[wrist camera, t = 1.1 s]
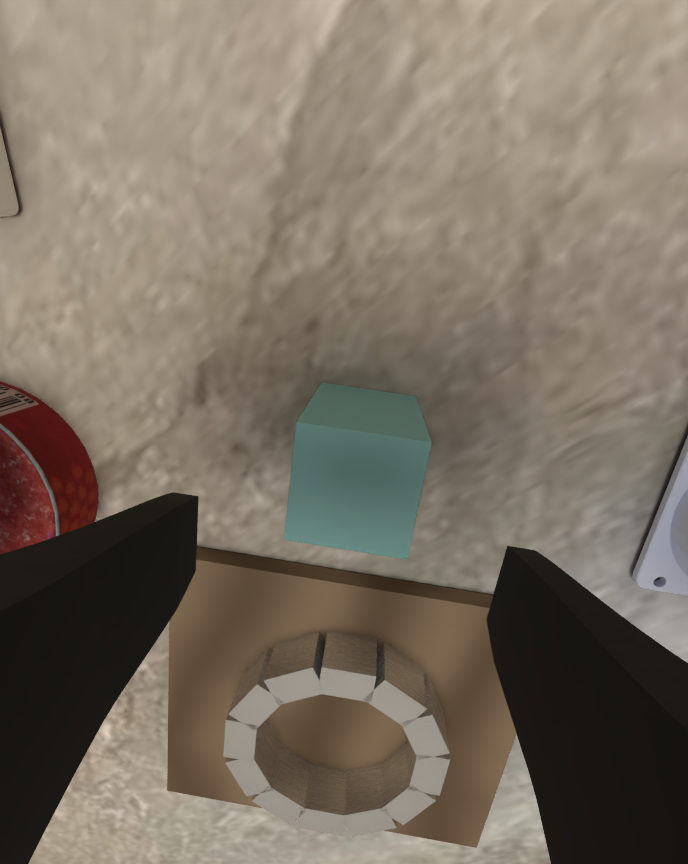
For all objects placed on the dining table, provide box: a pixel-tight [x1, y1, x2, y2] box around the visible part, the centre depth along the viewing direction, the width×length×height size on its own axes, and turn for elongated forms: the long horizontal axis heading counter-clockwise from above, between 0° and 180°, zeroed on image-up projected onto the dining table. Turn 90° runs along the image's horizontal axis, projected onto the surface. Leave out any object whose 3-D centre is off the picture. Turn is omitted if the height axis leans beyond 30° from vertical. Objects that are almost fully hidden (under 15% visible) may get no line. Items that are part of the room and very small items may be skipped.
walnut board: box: [167, 547, 516, 848], centre depth 23 cm, size 18×16×1 cm
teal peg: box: [284, 382, 432, 560], centre depth 16 cm, size 4×4×6 cm
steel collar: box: [223, 630, 450, 836], centre depth 22 cm, size 10×10×2 cm
